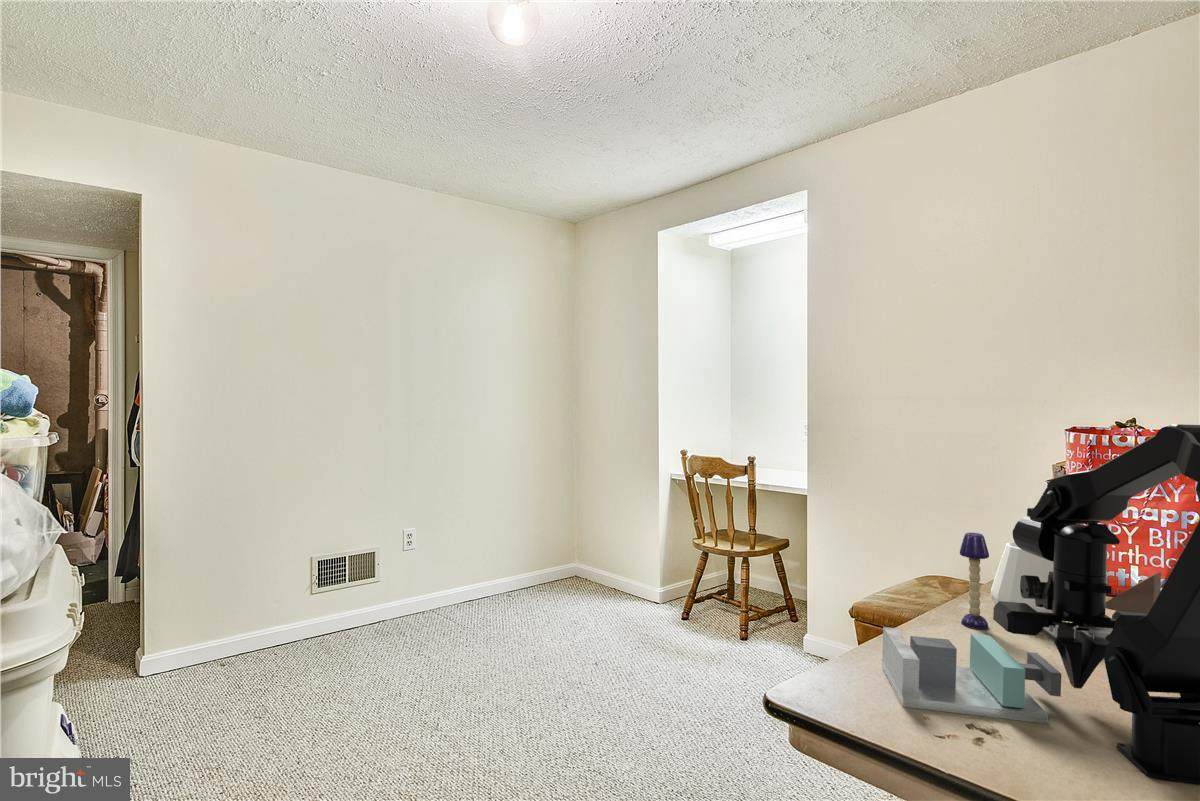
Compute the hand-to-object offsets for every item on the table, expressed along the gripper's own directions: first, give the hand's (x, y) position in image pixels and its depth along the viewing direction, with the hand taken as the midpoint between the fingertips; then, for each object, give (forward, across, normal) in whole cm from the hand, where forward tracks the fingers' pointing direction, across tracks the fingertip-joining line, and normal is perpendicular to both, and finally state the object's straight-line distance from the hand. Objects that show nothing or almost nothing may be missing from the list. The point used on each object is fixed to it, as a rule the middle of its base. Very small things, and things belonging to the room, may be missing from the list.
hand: (1076, 687), depth 86 cm
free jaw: (+1, +7, 0) cm, 7 cm away
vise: (+2, +14, 0) cm, 15 cm away
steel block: (+1, +18, 0) cm, 18 cm away
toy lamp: (+3, +3, -31) cm, 31 cm away
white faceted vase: (+3, -9, -37) cm, 38 cm away
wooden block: (+3, -16, -24) cm, 29 cm away
